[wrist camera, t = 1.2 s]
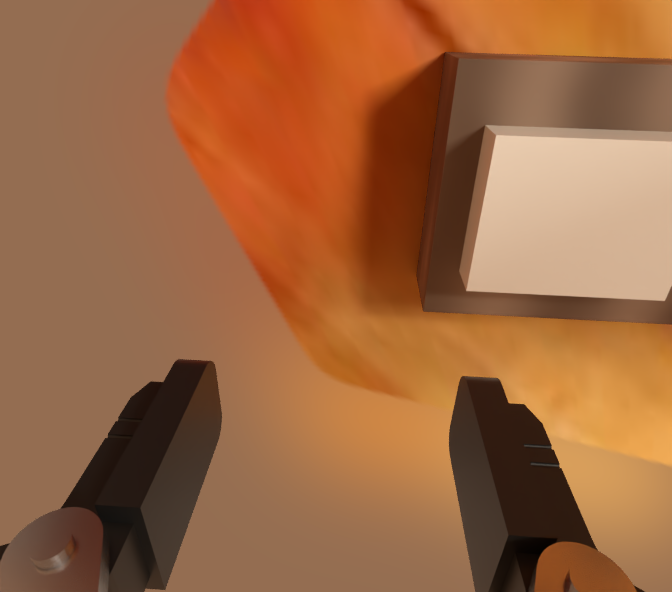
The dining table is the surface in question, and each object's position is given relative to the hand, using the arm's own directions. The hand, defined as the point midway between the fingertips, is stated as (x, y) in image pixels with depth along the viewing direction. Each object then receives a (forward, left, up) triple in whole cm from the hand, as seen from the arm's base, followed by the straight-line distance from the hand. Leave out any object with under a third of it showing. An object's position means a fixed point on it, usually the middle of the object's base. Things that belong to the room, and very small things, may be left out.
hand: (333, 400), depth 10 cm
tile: (-10, 0, -13) cm, 17 cm away
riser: (-11, 0, -17) cm, 21 cm away
